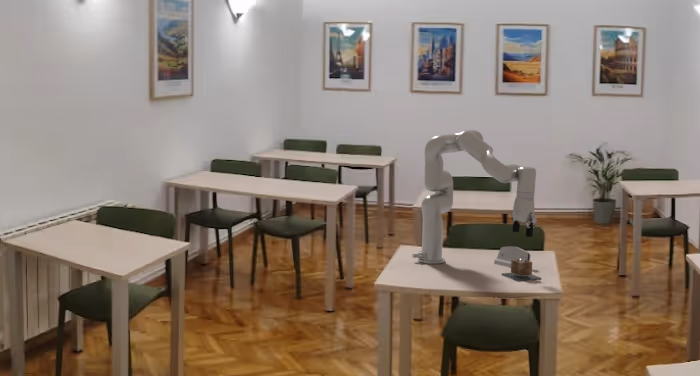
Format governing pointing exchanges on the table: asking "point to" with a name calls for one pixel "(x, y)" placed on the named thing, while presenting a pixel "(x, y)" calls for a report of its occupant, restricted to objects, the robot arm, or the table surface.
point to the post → (521, 277)
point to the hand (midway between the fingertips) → (522, 234)
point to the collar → (521, 267)
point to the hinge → (510, 255)
